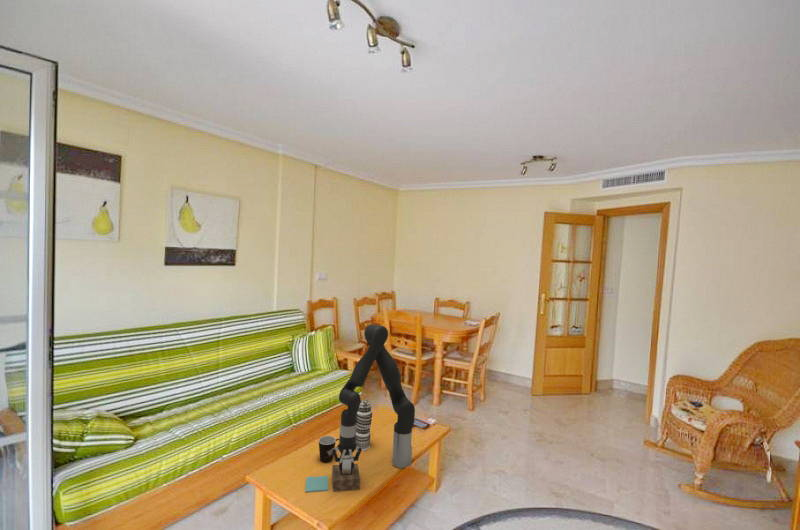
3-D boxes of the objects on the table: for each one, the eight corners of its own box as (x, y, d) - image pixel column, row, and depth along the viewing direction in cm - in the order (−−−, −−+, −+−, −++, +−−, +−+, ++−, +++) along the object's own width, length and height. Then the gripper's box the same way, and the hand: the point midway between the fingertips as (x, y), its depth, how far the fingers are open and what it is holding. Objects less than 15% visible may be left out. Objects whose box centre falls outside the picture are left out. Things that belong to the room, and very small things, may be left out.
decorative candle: (362, 453, 196) (365, 407, 195) (350, 446, 202) (352, 401, 201) (374, 446, 203) (376, 401, 202) (361, 440, 209) (364, 397, 208)
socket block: (357, 473, 178) (357, 463, 178) (359, 489, 166) (360, 478, 166) (332, 475, 175) (332, 465, 175) (332, 491, 164) (333, 480, 163)
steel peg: (349, 479, 173) (350, 454, 173) (350, 484, 169) (351, 459, 169) (340, 479, 172) (342, 454, 172) (341, 485, 168) (342, 459, 168)
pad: (327, 476, 174) (327, 475, 174) (328, 490, 164) (328, 489, 164) (306, 478, 172) (306, 477, 172) (305, 492, 162) (305, 491, 162)
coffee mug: (318, 465, 183) (319, 445, 183) (317, 455, 191) (318, 436, 191) (341, 462, 186) (342, 443, 186) (339, 453, 195) (340, 434, 194)
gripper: (362, 428, 175) (360, 463, 176) (332, 429, 172) (330, 465, 173) (364, 436, 168) (362, 473, 168) (332, 437, 165) (330, 475, 165)
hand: (346, 469), depth 171 cm, fingers closed on steel peg, 4 cm apart
